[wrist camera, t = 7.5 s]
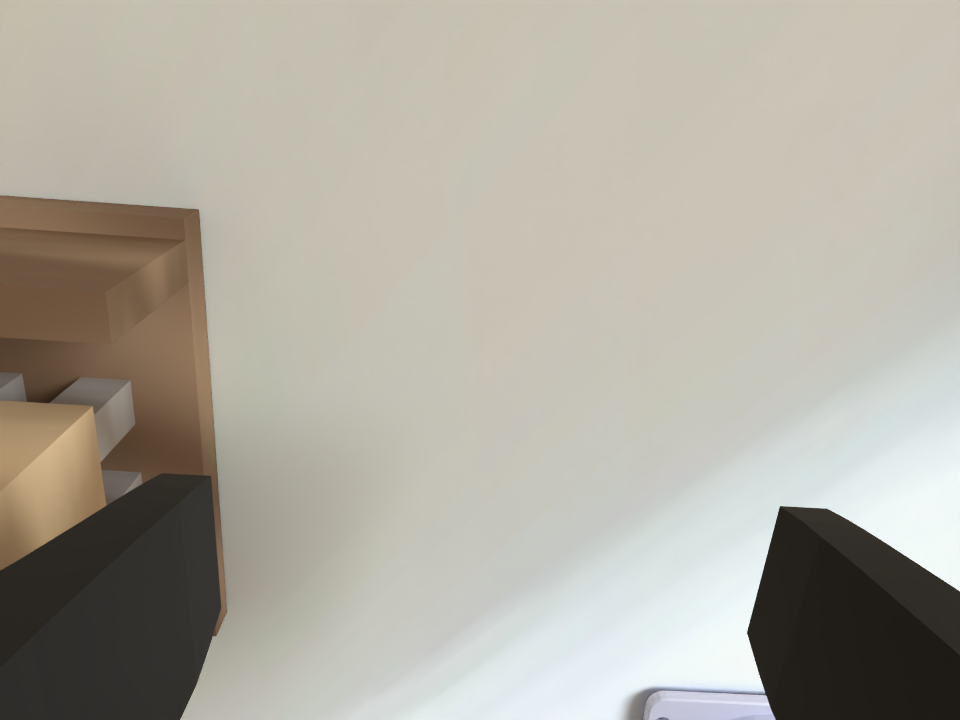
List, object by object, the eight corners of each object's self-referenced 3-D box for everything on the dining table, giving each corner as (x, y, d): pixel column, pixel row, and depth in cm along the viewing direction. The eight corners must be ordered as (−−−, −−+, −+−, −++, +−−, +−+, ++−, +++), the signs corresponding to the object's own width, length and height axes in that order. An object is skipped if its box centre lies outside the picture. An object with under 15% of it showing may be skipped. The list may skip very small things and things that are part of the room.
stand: (226, 611, 22) (162, 758, 18) (-14, 599, 22) (-143, 745, 17) (198, 209, 18) (101, 264, 13) (-105, 188, 17) (-314, 236, 13)
